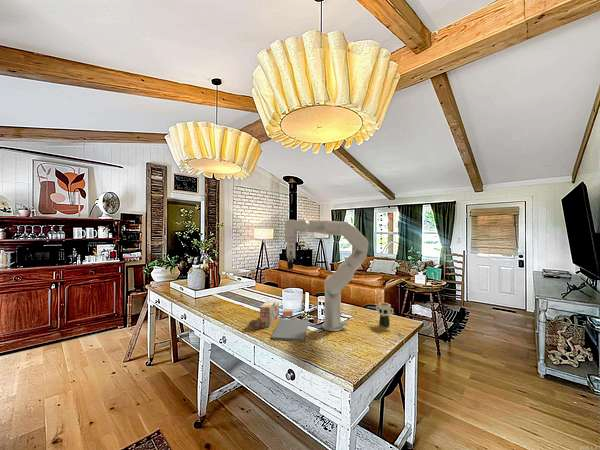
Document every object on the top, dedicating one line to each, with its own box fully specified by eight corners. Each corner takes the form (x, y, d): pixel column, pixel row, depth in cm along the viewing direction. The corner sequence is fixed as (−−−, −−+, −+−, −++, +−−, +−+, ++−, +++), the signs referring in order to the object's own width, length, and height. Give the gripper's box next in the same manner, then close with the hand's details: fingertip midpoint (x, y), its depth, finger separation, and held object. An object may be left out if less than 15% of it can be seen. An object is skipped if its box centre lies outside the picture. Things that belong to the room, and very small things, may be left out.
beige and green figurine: (373, 324, 163) (373, 303, 163) (377, 321, 169) (377, 301, 169) (391, 329, 157) (391, 307, 157) (395, 325, 162) (395, 304, 163)
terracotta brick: (291, 315, 180) (291, 309, 180) (292, 317, 176) (292, 311, 176) (282, 315, 179) (282, 310, 179) (283, 317, 175) (283, 311, 175)
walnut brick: (260, 327, 159) (260, 320, 159) (258, 329, 155) (258, 322, 155) (251, 326, 160) (251, 319, 160) (249, 328, 156) (249, 322, 156)
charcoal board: (308, 322, 167) (308, 320, 167) (304, 341, 139) (304, 338, 139) (280, 320, 169) (280, 318, 169) (271, 339, 141) (271, 337, 141)
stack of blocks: (270, 315, 180) (270, 297, 180) (279, 315, 179) (279, 297, 179) (259, 326, 159) (259, 306, 159) (269, 327, 158) (269, 307, 158)
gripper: (297, 240, 154) (296, 270, 154) (296, 239, 171) (295, 265, 171) (285, 240, 153) (284, 269, 153) (284, 238, 171) (283, 265, 171)
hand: (290, 267), depth 162 cm, fingers open, 9 cm apart
